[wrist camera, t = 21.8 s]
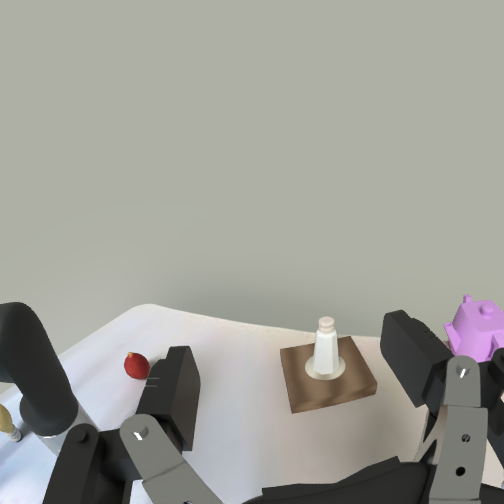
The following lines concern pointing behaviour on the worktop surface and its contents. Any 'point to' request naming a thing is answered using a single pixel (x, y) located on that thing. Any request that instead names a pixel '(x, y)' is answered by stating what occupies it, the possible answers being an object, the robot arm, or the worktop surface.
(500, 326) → the teakettle
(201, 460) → the worktop surface
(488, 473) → the worktop surface
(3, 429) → the light bulb
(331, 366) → the pepper shaker
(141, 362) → the onion
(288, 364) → the walnut plinth
